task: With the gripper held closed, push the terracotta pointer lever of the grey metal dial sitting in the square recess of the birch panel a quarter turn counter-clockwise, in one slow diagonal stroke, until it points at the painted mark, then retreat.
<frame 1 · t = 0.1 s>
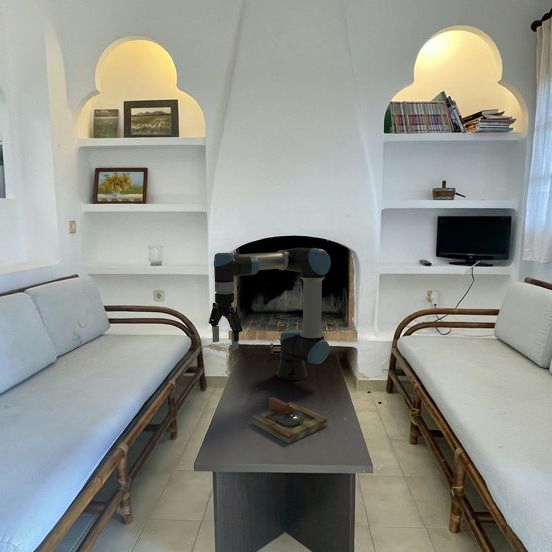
hand: (225, 345, 164), 28 cm above the table, fingers open, 13 cm apart
panel: (289, 424, 157), on the table
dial: (284, 410, 159), point 5 cm above the table, hinge at 0.0°
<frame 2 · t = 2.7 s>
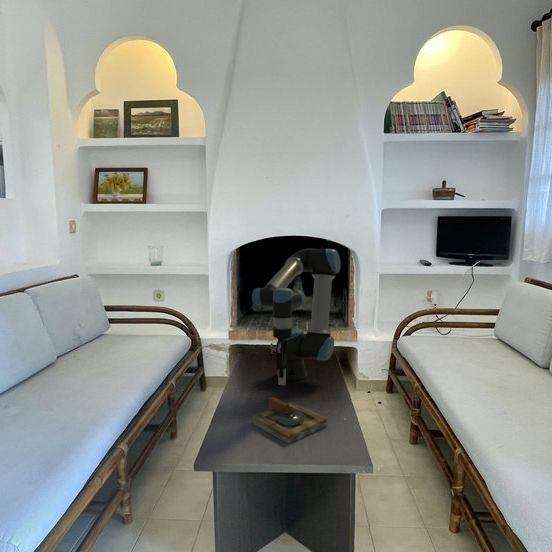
hand: (281, 384, 168), 11 cm above the table, fingers closed
nothing on the table moved.
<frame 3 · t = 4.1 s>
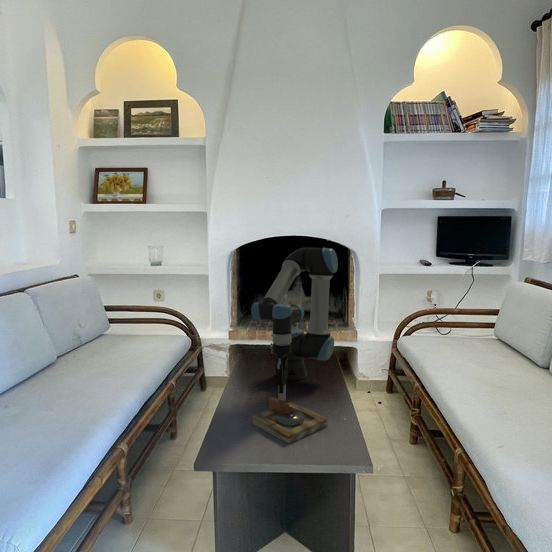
hand: (281, 399, 168), 5 cm above the table, fingers closed
nothing on the table moved.
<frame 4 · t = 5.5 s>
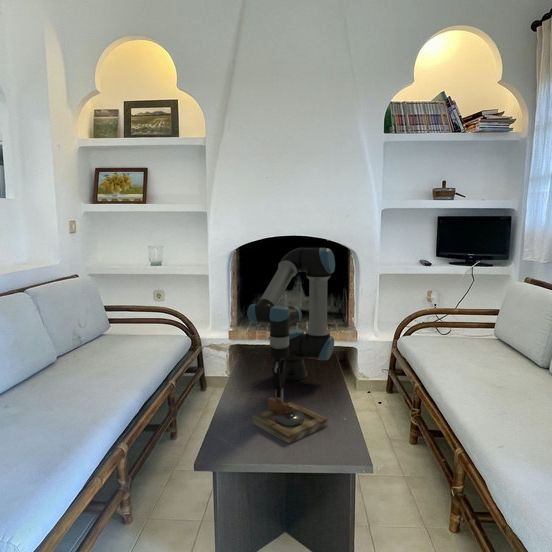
hand: (279, 403, 164), 5 cm above the table, fingers closed
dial: (284, 410, 158), point 5 cm above the table, hinge at 2.7°, touching gripper
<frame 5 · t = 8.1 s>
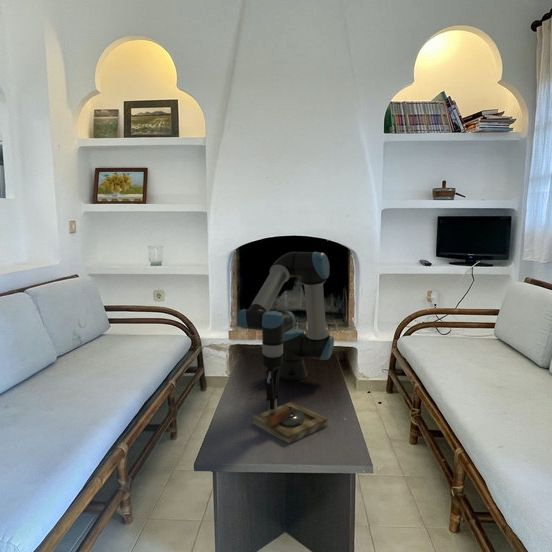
hand: (272, 416, 154), 5 cm above the table, fingers closed
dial: (285, 415, 155), point 5 cm above the table, hinge at 95.5°, touching gripper
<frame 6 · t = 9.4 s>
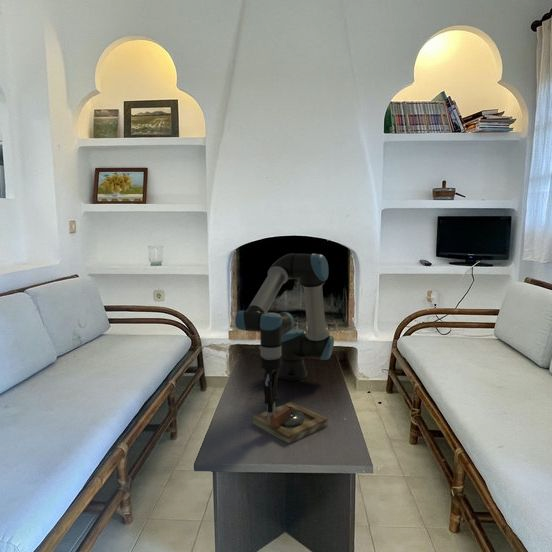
hand: (271, 419, 151), 5 cm above the table, fingers closed
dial: (285, 415, 154), point 5 cm above the table, hinge at 103.7°, touching gripper
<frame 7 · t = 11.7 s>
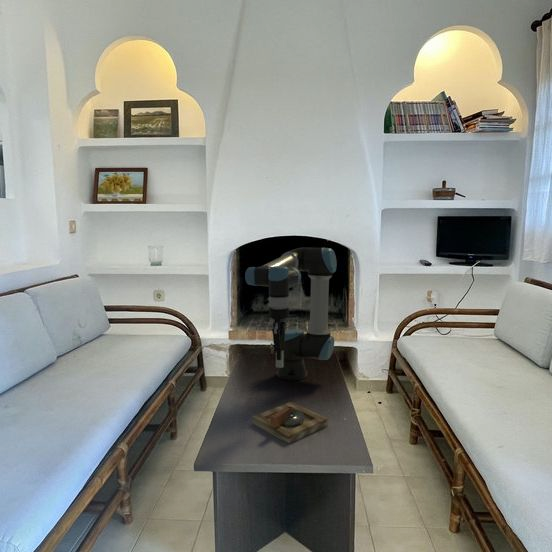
hand: (279, 366, 160), 21 cm above the table, fingers closed
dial: (285, 415, 154), point 5 cm above the table, hinge at 103.8°
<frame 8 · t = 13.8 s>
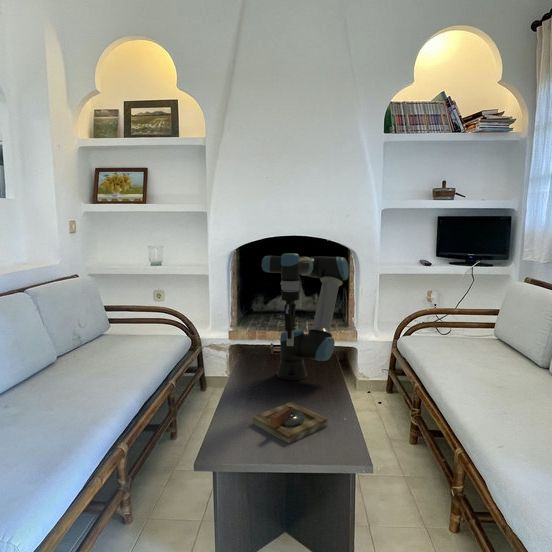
hand: (290, 345, 176), 24 cm above the table, fingers closed
nothing on the table moved.
at the end: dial at +104° (first picture: +0°) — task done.
